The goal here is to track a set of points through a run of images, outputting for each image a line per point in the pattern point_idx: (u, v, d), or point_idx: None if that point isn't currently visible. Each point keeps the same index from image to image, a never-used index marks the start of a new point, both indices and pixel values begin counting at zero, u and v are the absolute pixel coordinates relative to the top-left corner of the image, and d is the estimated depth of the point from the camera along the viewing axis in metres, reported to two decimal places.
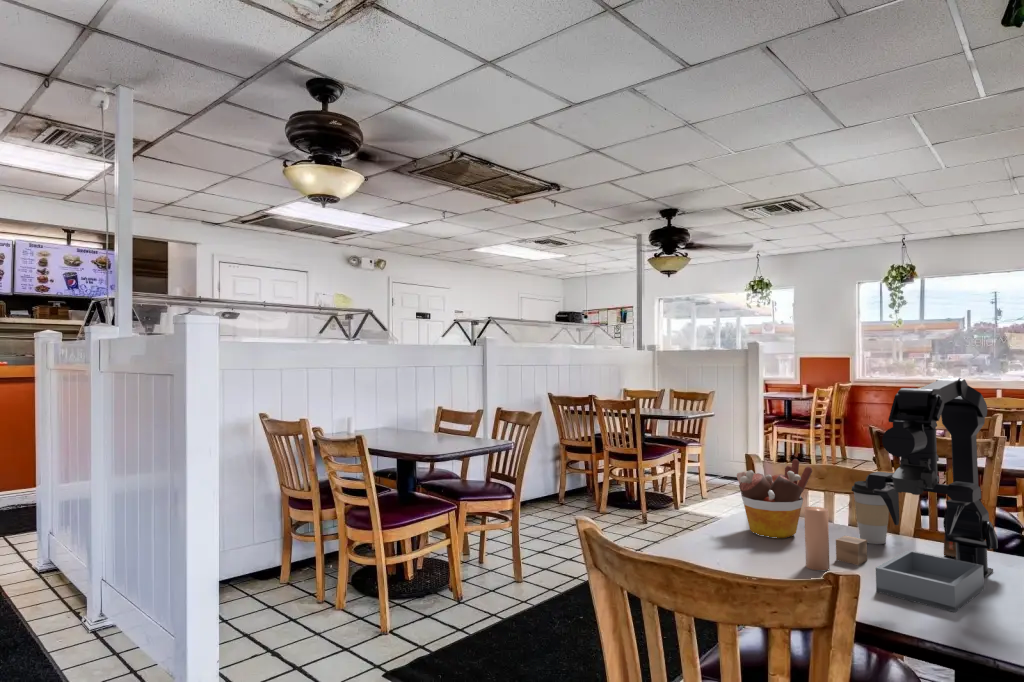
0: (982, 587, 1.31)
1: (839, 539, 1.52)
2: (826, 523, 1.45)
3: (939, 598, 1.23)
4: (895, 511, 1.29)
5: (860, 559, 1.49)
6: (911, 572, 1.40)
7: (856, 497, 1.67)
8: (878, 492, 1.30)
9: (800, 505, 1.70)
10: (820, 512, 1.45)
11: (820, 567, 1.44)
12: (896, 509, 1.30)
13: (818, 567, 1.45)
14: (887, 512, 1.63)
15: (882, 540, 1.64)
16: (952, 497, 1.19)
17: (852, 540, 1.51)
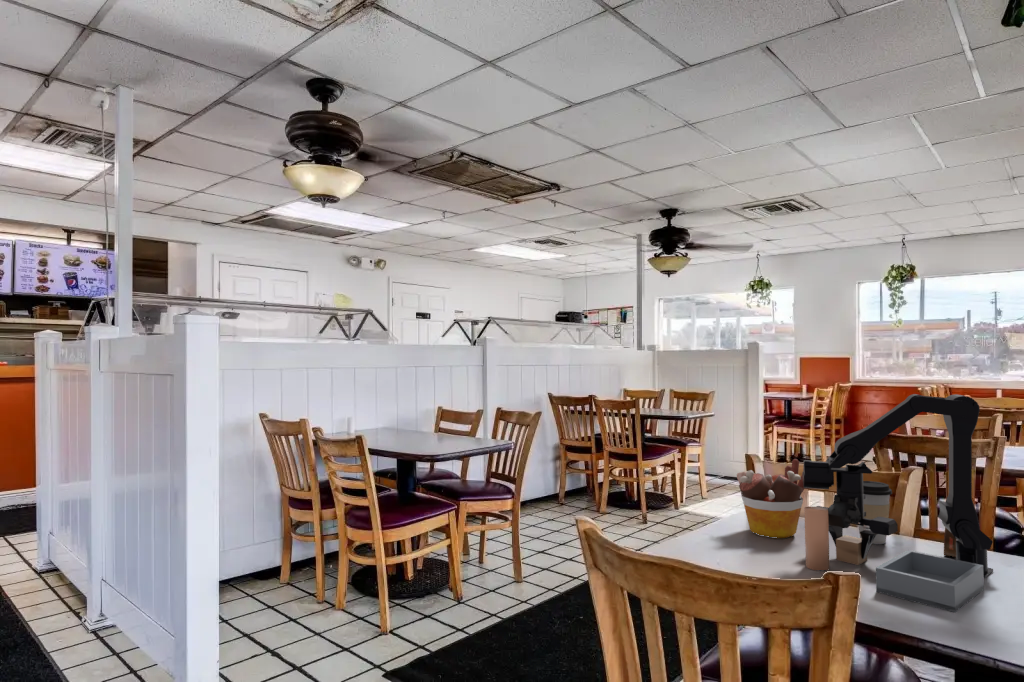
0: (982, 587, 1.31)
1: (839, 539, 1.52)
2: (826, 523, 1.45)
3: (939, 598, 1.23)
4: None
5: (860, 558, 1.49)
6: (911, 572, 1.40)
7: None
8: None
9: (800, 505, 1.70)
10: (820, 512, 1.45)
11: (820, 567, 1.44)
12: None
13: (818, 567, 1.45)
14: (887, 512, 1.63)
15: (882, 540, 1.64)
16: (873, 530, 1.45)
17: (852, 540, 1.51)
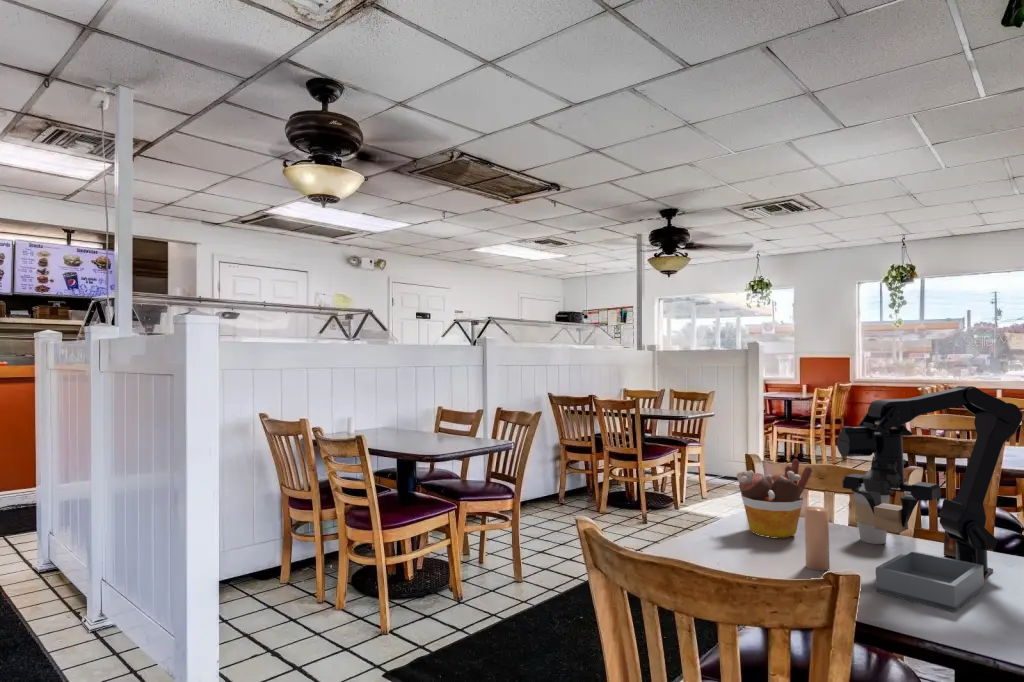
0: (982, 587, 1.31)
1: (877, 506, 1.44)
2: (826, 523, 1.45)
3: (939, 598, 1.23)
4: None
5: (900, 526, 1.41)
6: (911, 572, 1.40)
7: (856, 497, 1.67)
8: (862, 493, 1.46)
9: (800, 505, 1.70)
10: (820, 512, 1.45)
11: (820, 567, 1.44)
12: None
13: (818, 567, 1.45)
14: None
15: (882, 540, 1.64)
16: (914, 496, 1.37)
17: (891, 507, 1.43)
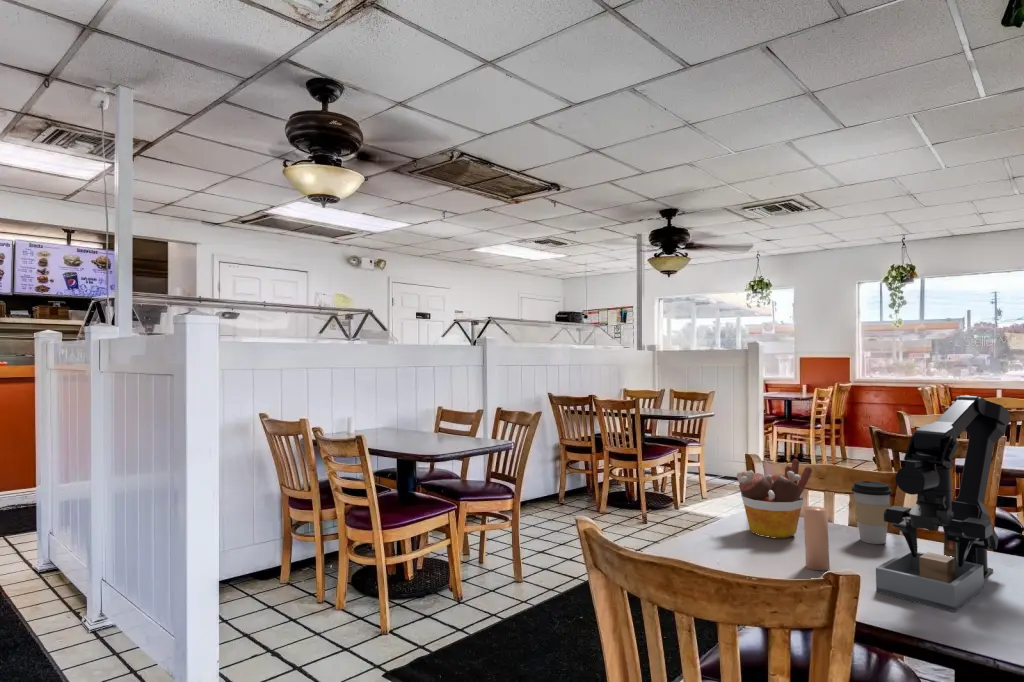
0: (982, 587, 1.31)
1: (923, 556, 1.35)
2: (825, 523, 1.45)
3: (939, 598, 1.23)
4: (913, 544, 1.38)
5: (949, 579, 1.32)
6: (911, 572, 1.40)
7: (856, 497, 1.67)
8: (897, 526, 1.38)
9: (800, 505, 1.70)
10: (819, 512, 1.45)
11: (820, 566, 1.44)
12: (914, 542, 1.38)
13: (818, 567, 1.45)
14: None
15: (882, 540, 1.64)
16: (966, 533, 1.28)
17: (938, 558, 1.34)
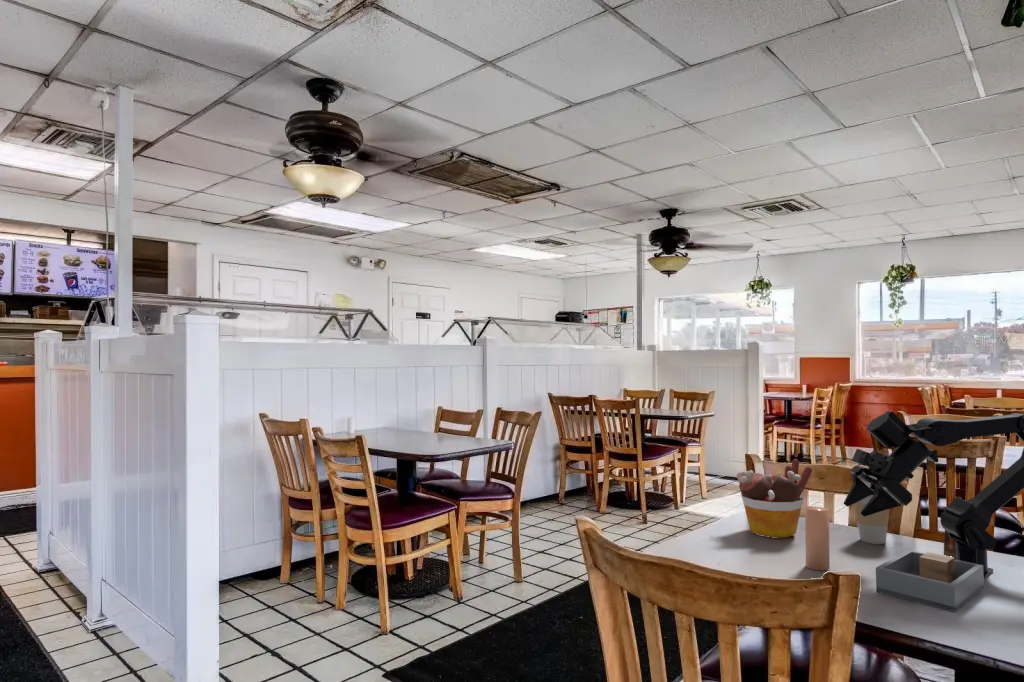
0: (982, 587, 1.31)
1: (923, 556, 1.35)
2: (827, 523, 1.45)
3: (939, 598, 1.23)
4: (852, 495, 1.50)
5: (949, 579, 1.32)
6: (911, 572, 1.40)
7: None
8: (852, 474, 1.53)
9: (800, 505, 1.70)
10: (821, 512, 1.45)
11: (820, 566, 1.44)
12: (855, 496, 1.50)
13: (818, 567, 1.45)
14: (887, 512, 1.63)
15: (882, 540, 1.64)
16: (880, 481, 1.39)
17: (938, 558, 1.34)
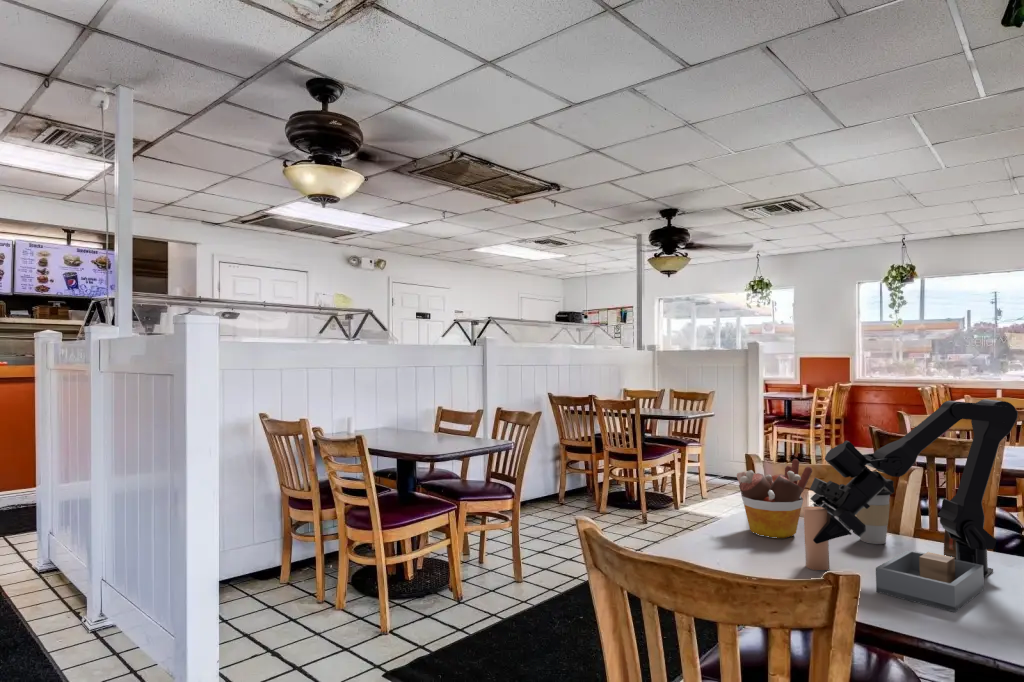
0: (982, 587, 1.31)
1: (923, 556, 1.35)
2: (825, 523, 1.45)
3: (939, 598, 1.23)
4: None
5: (949, 579, 1.32)
6: (911, 572, 1.40)
7: None
8: (814, 504, 1.52)
9: (800, 505, 1.70)
10: (819, 512, 1.45)
11: (819, 566, 1.44)
12: None
13: (818, 567, 1.45)
14: (887, 512, 1.63)
15: (882, 540, 1.64)
16: (835, 512, 1.41)
17: (938, 558, 1.34)
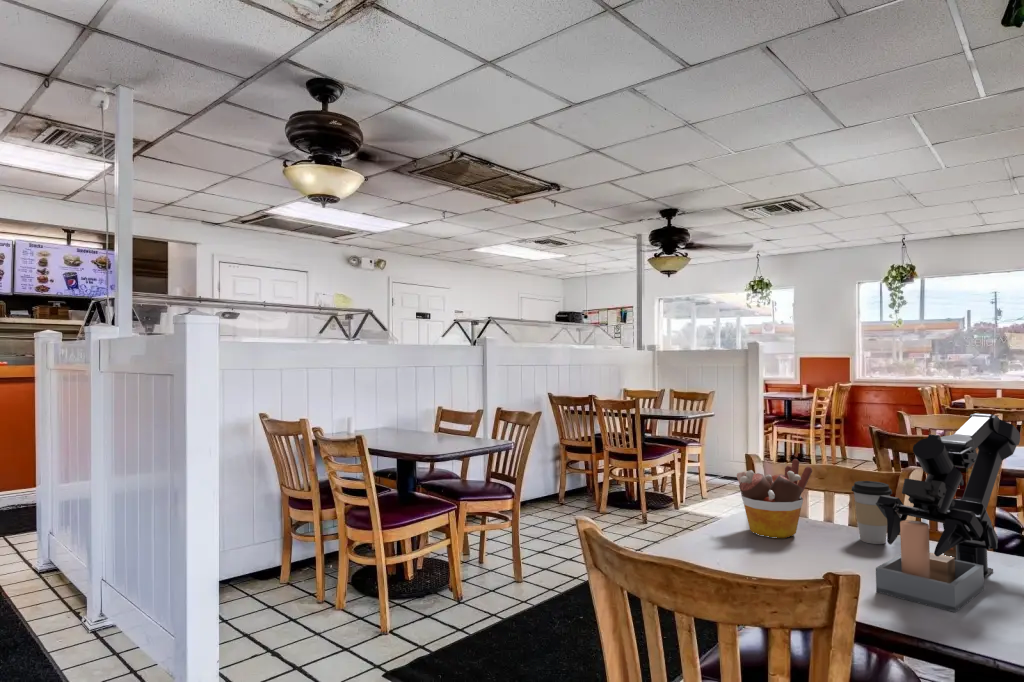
0: (982, 587, 1.31)
1: None
2: None
3: (939, 598, 1.23)
4: (893, 531, 1.34)
5: (949, 579, 1.32)
6: None
7: (856, 497, 1.67)
8: (885, 507, 1.37)
9: (800, 505, 1.70)
10: (926, 527, 1.28)
11: None
12: (894, 531, 1.34)
13: None
14: None
15: (882, 540, 1.64)
16: (952, 515, 1.25)
17: (938, 558, 1.34)
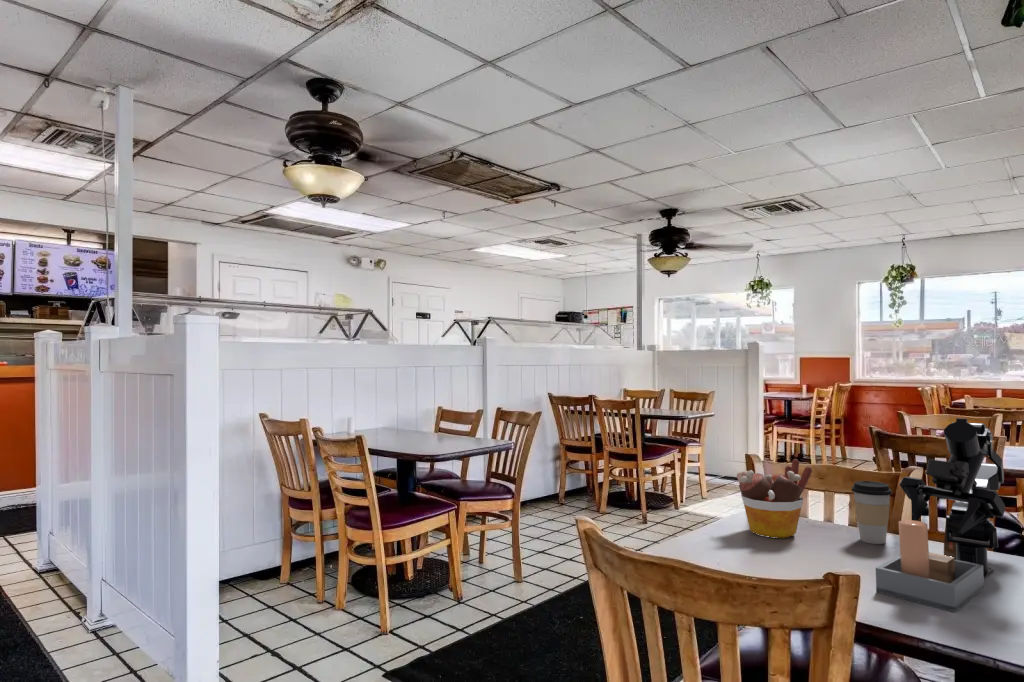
0: (982, 587, 1.31)
1: None
2: None
3: (939, 598, 1.23)
4: (917, 510, 1.39)
5: (949, 579, 1.32)
6: None
7: (856, 497, 1.67)
8: (909, 488, 1.41)
9: (800, 505, 1.70)
10: (925, 526, 1.28)
11: None
12: (918, 511, 1.39)
13: None
14: (887, 512, 1.63)
15: (882, 540, 1.64)
16: (976, 494, 1.30)
17: (938, 558, 1.34)
